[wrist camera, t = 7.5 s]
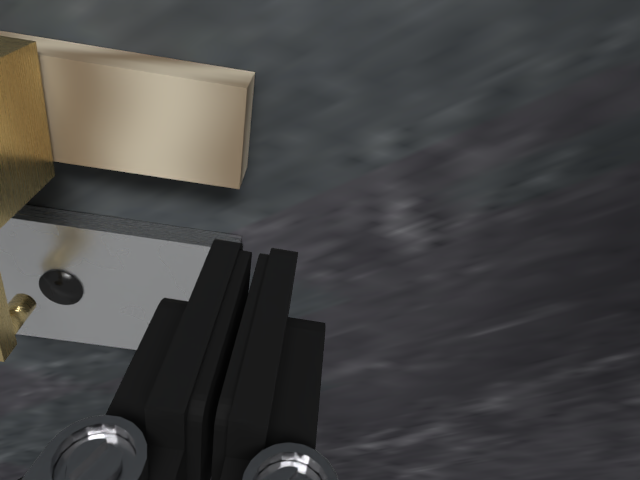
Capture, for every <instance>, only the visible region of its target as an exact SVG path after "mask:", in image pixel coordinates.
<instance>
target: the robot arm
mask: <svg viewBox="0 0 640 480" xmlns="http://www.w3.org/2000/svg"><path fill="white" fill-rule="evenodd" d="M297 257H298V252H293V251H287V250H281V249H275V248H271V251H270V255H267V254H261V253H260V254H259V257H258V261H257V264H256V268H255V272H254V275H253V279H252V283H251V286H250V290H249V280H250V269H251V258H252V252H248V251H243V245H242V243H238V242H232V241H226V240H219V239H214V241H213V243H212V245H211V247H210V250H209V252H208V255H207V257H206V260H205V262H204V264H203V267H202V269H201V272H200V274H199V277H198V279H197V281H196V284H195V286H194V289H193V291H192V294H191V296H190V298H189V301H183V300H176V299H170V298H163V299H162V300H161V301H160V303H159V305H158V306H157V309H156V311H155V313H154V315H153V317H152V319H151V321H150V323H149V325H148V327H147V329H146V332H145V334H144V336H143V338H142V340H141V342H140V344H139V346H138V348H137V350H136V352H135V355H134V357H133V359H132V361H131V363H130V365H129V367H128V369H127V371H126V373H125V375H124V378H123V380H122V382H121V384H120V386H119V388H118V390H117V392H116V394H115V396H114V398H113V401H112V403H111V405H110V407H109V409H108V411H107V413H106V415H100V416H91V417H88V418H85V419H82V420H79V421H77V422H74V423H73V424H71V425H69V426H68V427H66V428H65V429H63V430H62V431H60V432H59V433H58V434H57V435H56V436H55V437H54V438H53V439H52V440H51V441H50V442H49V443H48V445H47V446H46V447H45V449H44V450H43V451H42V453H41V454H40V455H39V457H38V458H37V459H36V461H35V462H34V463H33V465H32V466H31V467H30V469H29V470H28V472H27V473H26V474H25V476H24V477H22V478H20V479H18V480H210V479H211V480H338V477H337V474H336V472H335V470H334V469H333V467H332V466H331V464H330V462H329V461H328V460H327V459H326V458H325V457H324V456H323V455H321V454H320V453H319V452H318V451H316V450H315V445H316V433H317V421H318V410H319V398H320V386H321V374H322V362H323V351H324V339H325V323H322V322H315V321H309V320H303V319H296V318H290V317H288V314H289V308H290V301H291V295H292V289H293V282H294V276H295V270H296V263H297ZM248 290H249V293H248ZM211 476H212V477H211Z"/></svg>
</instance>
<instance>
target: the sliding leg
mask: <svg viewBox="0 0 640 480" xmlns="http://www.w3.org/2000/svg"><path fill="white" fill-rule="evenodd" d="M54 176H55V172H54V165H53V158H52V151H51V144H50V136H49V129H48V122H47V115H46V108H45V101H44V94H43V87H42V80H41V73H40V66H39V59H38V52H37V45H36V41H31V40H25V39H19V38H13V37H7V36H1V35H0V228H1V227H2V226H3V225H5V224H6V223H7V222H8V221H9V220H10V219H11V218H12V217H13V216H14V215H15V214H16V213H17V212H18V211H19V210H20V209H21V208H22V207H23V206H24V205H25V204H26V203H27V202H28V201H29V200H30V199H31V198H32V197H33V196H35V195H36V194H37V193H38V192H39V191H40V190H41V189H42V188H43V187H44V186H45V185H46V184H47V183H48V182H49V181H50V180H51V179H52V178H53V177H54ZM35 308H36V302H35V300H34V299H33V298H32V297H31V296H29V295H27V294H23V293H19V294H16V295H15V296H14V297H13V298H12V299H11V301H10V302H9V303H7V299H6V294H5V290H4V286H3V281H2V277H1V273H0V361H2V362H4V361H5V360H6V359H7V357H8V356H9V354H10V353H11V352H12V350H13V349H14V348H15V346H16V345H17V342H16V337H15V334H16V333H17V332H18V330H19V329H20V328H21V326H22V325H23V324H24V322H25V321H26V320H27V318H28V317H29V316H30V314H31V313H32V312H33V310H34V309H35Z"/></svg>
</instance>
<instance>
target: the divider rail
mask: <svg viewBox="0 0 640 480" xmlns="http://www.w3.org/2000/svg"><path fill="white" fill-rule="evenodd" d="M0 35H1V36H7V37H13V38H19V39H25V40H31V41H36V45H37V52H38V59H39V66H40V73H41V80H42V87H43V94H44V101H45V108H46V115H47V122H48V129H49V136H50V144H51V151H52V158H53V161H55V162H61V163H68V164H75V165H81V166H88V167H95V168H101V169H108V170H115V171H121V172H128V173H135V174H141V175H148V176H155V177H161V178H168V179H175V180H181V181H188V182H195V183H201V184H208V185H215V186H221V187H228V188H235V189H240V186H241V183H242V180H243V178H244V175H245V172H246V169H247V163H248V151H249V139H250V127H251V115H252V103H253V90H254V78H255V72H251V71H245V70H238V69H232V68H226V67H220V66H214V65H208V64H201V63H195V62H189V61H183V60H177V59H171V58H165V57H158V56H152V55H146V54H140V53H134V52H128V51H121V50H115V49H109V48H103V47H97V46H91V45H85V44H78V43H72V42H66V41H60V40H54V39H48V38H41V37H35V36H29V35H23V34H17V33H11V32H5V31H0Z"/></svg>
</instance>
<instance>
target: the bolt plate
mask: <svg viewBox="0 0 640 480" xmlns="http://www.w3.org/2000/svg"><path fill="white" fill-rule="evenodd" d="M214 239H219V240H226V241H232V242H238V243H241V236H238V235H231V234H224V233H217V232H211V231H204V230H197V229H190V228H183V227H176V226H169V225H162V224H156V223H149V222H142V221H135V220H128V219H121V218H114V217H107V216H100V215H94V214H87V213H80V212H73V211H66V210H59V209H52V208H45V207H38V206H32V205H24V206H23V207H22V208H21V209H20V210H19V211H18V212H17V213H16V214H15V215H14V216H13V217H12V218H11V219H10V220H9V221H8V222H7V223H6V224H5V225H3V226H2V227H1V228H0V273H1V277H2V281H3V286H4V290H5V294H6V299H7V303H9V302H10V301H11V299H12V298H13V297H14V296H15V295H16V294H19V293H23V294H27V295H29V296H31V297H32V298H33V299H34V300H35V302H36V308H35V309H34V310H33V312H32V313H31V314H30V316H29V317H28V318H27V320H26V321H25V322H24V324H23V325H22V326H21V328H20V329H19V330H18V332H17V333H16V334H20V335H27V336H35V337H43V338H50V339H58V340H65V341H73V342H80V343H88V344H96V345H103V346H111V347H118V348H126V349H133V350H137V348H138V346H139V344H140V342H141V340H142V338H143V336H144V334H145V332H146V329H147V327H148V325H149V323H150V321H151V319H152V317H153V315H154V313H155V311H156V309H157V306H158V305H159V303H160V301H161V300H162V299H163V298H170V299H176V300H183V301H189V298H190V296H191V294H192V291H193V289H194V286H195V284H196V281H197V279H198V277H199V274H200V272H201V269H202V267H203V264H204V262H205V260H206V257H207V255H208V252H209V250H210V247H211V245H212V243H213V241H214Z"/></svg>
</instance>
